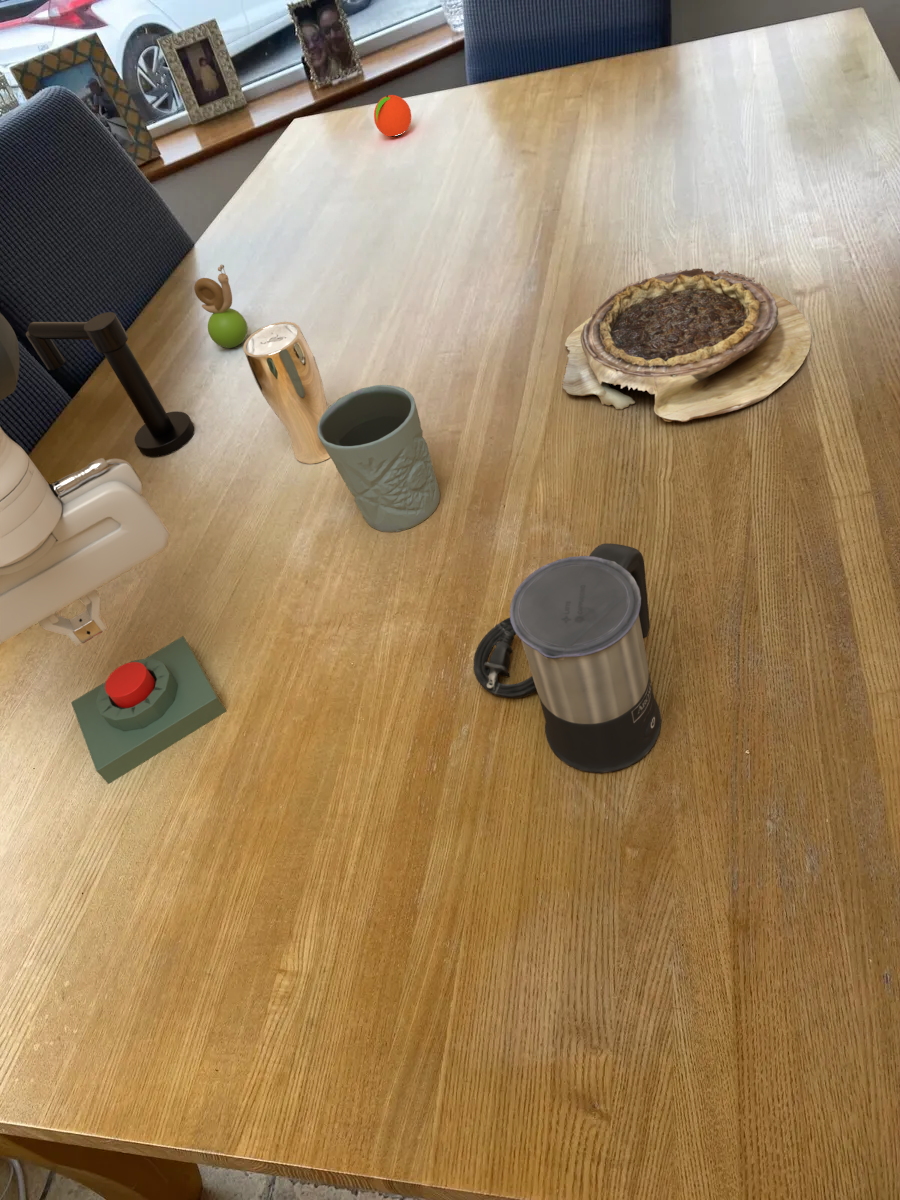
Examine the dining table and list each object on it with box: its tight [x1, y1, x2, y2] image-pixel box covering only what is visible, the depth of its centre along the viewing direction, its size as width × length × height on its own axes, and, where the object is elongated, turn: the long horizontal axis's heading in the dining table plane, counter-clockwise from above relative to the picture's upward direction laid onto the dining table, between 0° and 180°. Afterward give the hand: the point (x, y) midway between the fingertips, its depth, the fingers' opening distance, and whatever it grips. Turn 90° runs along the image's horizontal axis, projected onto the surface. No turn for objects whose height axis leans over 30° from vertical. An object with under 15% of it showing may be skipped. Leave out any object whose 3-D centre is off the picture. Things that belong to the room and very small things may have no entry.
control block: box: [70, 635, 227, 785], centre depth 87 cm, size 12×10×4 cm
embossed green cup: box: [317, 384, 441, 533], centre depth 96 cm, size 10×10×12 cm
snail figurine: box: [193, 263, 248, 349], centre depth 131 cm, size 5×6×12 cm
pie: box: [561, 268, 812, 423], centre depth 105 cm, size 28×27×5 cm
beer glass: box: [242, 321, 331, 465], centre depth 107 cm, size 7×7×15 cm
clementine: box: [373, 94, 412, 137], centre depth 173 cm, size 8×7×7 cm
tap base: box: [103, 341, 196, 458], centre depth 117 cm, size 8×8×14 cm
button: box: [105, 661, 155, 708], centre depth 85 cm, size 4×4×2 cm
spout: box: [25, 311, 129, 371], centre depth 115 cm, size 15×4×6 cm, turn 66°
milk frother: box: [473, 542, 662, 774], centre depth 72 cm, size 14×16×15 cm
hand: (91, 633), depth 80 cm, fingers closed
